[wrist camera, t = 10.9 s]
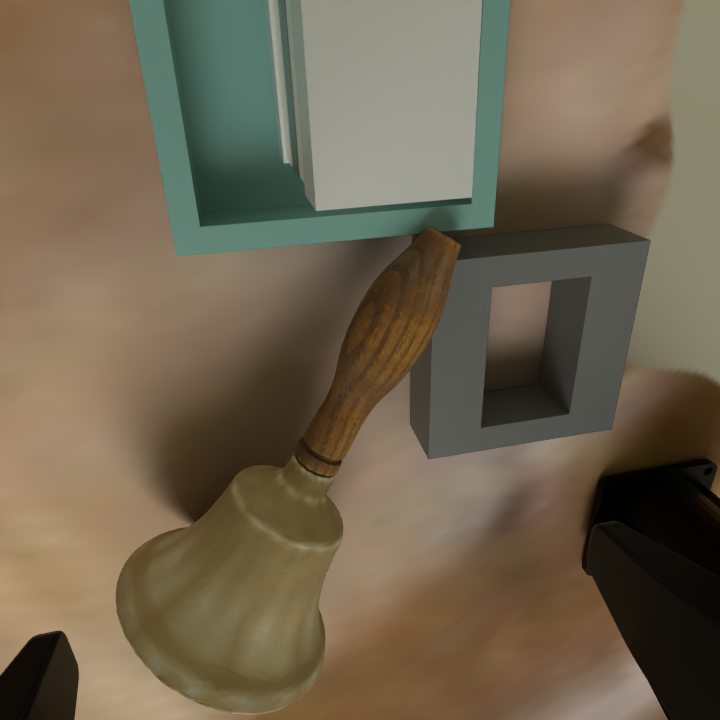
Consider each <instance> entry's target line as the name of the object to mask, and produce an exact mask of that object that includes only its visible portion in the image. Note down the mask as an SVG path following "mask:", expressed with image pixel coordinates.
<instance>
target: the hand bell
mask: <svg viewBox="0 0 720 720" xmlns="http://www.w3.org/2000/svg"><path fill="white" fill-rule="evenodd" d="M460 249H461V244H460V243H458V242H457V241H455V240H454V239H452V238H450V237H449V236H447V235H445V234H443V233H441V232H440V231H438V230H436V229H434V228H432V227H429V226H428V227H426V228H425V229H424V231H423V232H422V233H421V234H420V236H419V237H418V238H417V239H416V240H415V241H414V242H413V243H412V244H411V245H410V246H409V247H408V248H407V249H406V250H405V251H404V252H403V253H402V254H401V255H400V256H398V257H397V258H396V259H395V260H394V261H393V262H392V263H391V264H390V265H389V266H388V267H387V268H386V269H385V270H384V271H383V272H382V273H381V274H380V275H379V276H378V278H377V279H376V280H375V281H374V283H373V284H372V286H371V287H370V289H369V290H368V292H367V293H366V295H365V296H364V298H363V300H362V302H361V303H360V305H359V307H358V309H357V311H356V313H355V315H354V317H353V319H352V321H351V323H350V325H349V327H348V330H347V333H346V336H345V338H344V341H343V344H342V347H341V351H340V355H339V359H338V365H337V369H336V373H335V377H334V380H333V383H332V386H331V389H330V391H329V393H328V395H327V397H326V399H325V401H324V402H323V404H322V406H321V407H320V409H319V410H318V412H317V414H316V415H315V417H314V419H313V420H312V422H311V423H310V425H309V427H308V428H307V430H306V432H305V434H304V437H303V438H301V439H300V440H299V442H298V443H297V445H296V446H295V449H294V452H295V453H294V454H293V455H292V457H291V458H290V460H289V461H288V463H287V464H286V466H285V467H284V468H280V467H277V466H270V465H256V466H251V467H248V468H246V469H244V470H242V471H241V472H240V473H238V474H237V475H236V476H235V477H234V479H233V480H232V481H231V483H230V484H229V486H228V487H227V488H226V490H225V491H224V492H223V494H222V495H221V496H220V497H219V498H218V500H217V501H216V502H215V503H214V504H213V505H212V507H211V508H210V509H209V510H208V511H207V512H206V513H205V514H204V515H203V516H202V517H201V518H200V519H199V520H198V521H196V522H195V523H194V524H192V525H191V526H189V527H185V528H179V529H175V530H172V531H168V532H165V533H163V534H160V535H158V536H156V537H154V538H153V539H151V540H149V541H147V542H146V543H144V544H143V545H142V546H140V547H139V548H138V549H137V550H136V551H135V552H134V553H133V554H132V555H131V556H130V557H129V558H128V560H127V561H126V563H125V565H124V567H123V568H122V571H121V573H120V576H119V579H118V582H117V588H116V606H117V614H118V618H119V621H120V624H121V627H122V629H123V632H124V634H125V637H126V638H127V640H128V641H129V643H130V645H131V646H132V648H133V649H134V651H135V653H136V655H137V656H138V657H139V658H140V659H141V661H142V662H143V664H144V665H145V666H146V667H147V668H148V669H149V670H150V671H151V672H152V673H153V674H154V675H155V676H156V677H157V678H158V679H159V680H160V681H161V682H162V683H163V684H165V685H166V686H168V687H169V688H171V689H173V690H175V691H177V692H178V693H179V694H181V695H182V696H184V697H186V698H187V699H190V700H192V701H195V702H197V703H199V704H202V705H204V706H206V707H210V708H213V709H216V710H220V711H224V712H228V713H236V714H263V713H268V712H273V711H277V710H280V709H282V708H285V707H287V706H289V705H291V704H293V703H294V702H296V701H298V700H299V699H300V698H301V697H303V696H304V695H305V694H306V693H307V692H308V691H309V690H310V689H311V687H312V686H313V685H314V683H315V682H316V680H317V678H318V676H319V674H320V672H321V669H322V665H323V661H324V653H325V629H324V623H323V620H322V616H321V613H320V610H319V597H320V593H321V588H322V585H323V581H324V578H325V576H326V573H327V571H328V569H329V566H330V564H331V561H332V559H333V557H334V555H335V553H336V551H337V549H338V547H339V545H340V543H341V540H342V536H343V522H342V518H341V516H340V513H339V511H338V509H337V508H336V506H335V505H334V503H333V502H332V501H331V499H330V498H329V497H328V496H327V495H326V493H327V491H328V488H329V487H330V485H331V483H332V482H333V479H334V476H335V474H336V473H337V472H338V470H339V468H340V466H341V462H342V459H343V458H344V457H345V456H346V454H347V452H348V450H349V448H350V446H351V444H352V442H353V440H354V438H355V436H356V435H357V433H358V431H359V429H360V427H361V425H362V424H363V422H364V420H365V419H366V417H367V416H368V414H369V413H370V411H371V410H372V409H373V408H374V406H375V405H376V404H377V403H378V402H379V401H380V400H381V399H382V398H383V397H384V396H385V395H386V394H387V393H388V392H390V391H391V390H392V389H393V388H394V387H395V386H396V385H397V384H398V383H399V382H400V381H401V380H402V379H403V378H404V377H405V375H406V374H407V373H408V372H409V371H410V369H411V368H412V367H413V365H414V364H415V363H416V361H417V360H418V359H419V357H420V356H421V354H422V353H423V351H424V350H425V348H426V346H427V345H428V343H429V341H430V339H431V338H432V336H433V334H434V332H435V330H436V328H437V326H438V324H439V322H440V319H441V317H442V314H443V311H444V308H445V305H446V301H447V297H448V293H449V288H450V283H451V278H452V274H453V270H454V267H455V263H456V260H457V257H458V254H459V251H460Z"/></svg>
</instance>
